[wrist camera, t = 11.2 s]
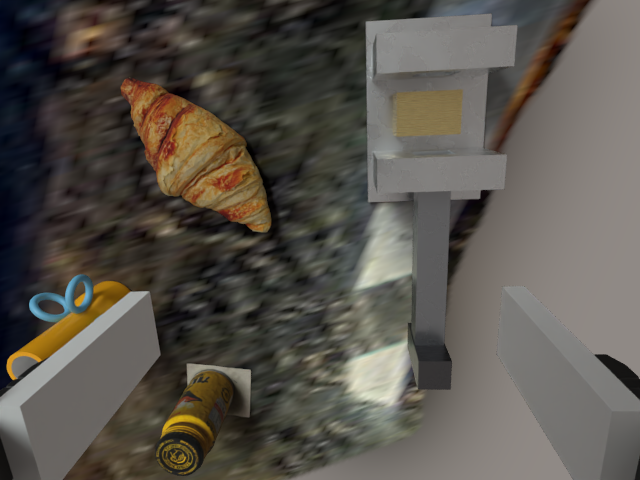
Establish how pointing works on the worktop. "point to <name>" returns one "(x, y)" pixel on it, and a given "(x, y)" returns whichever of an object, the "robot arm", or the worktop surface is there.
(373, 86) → the frame
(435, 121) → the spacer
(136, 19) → the worktop surface
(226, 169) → the croissant
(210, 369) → the condiment
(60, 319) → the cylinder
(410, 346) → the bar
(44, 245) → the worktop surface
